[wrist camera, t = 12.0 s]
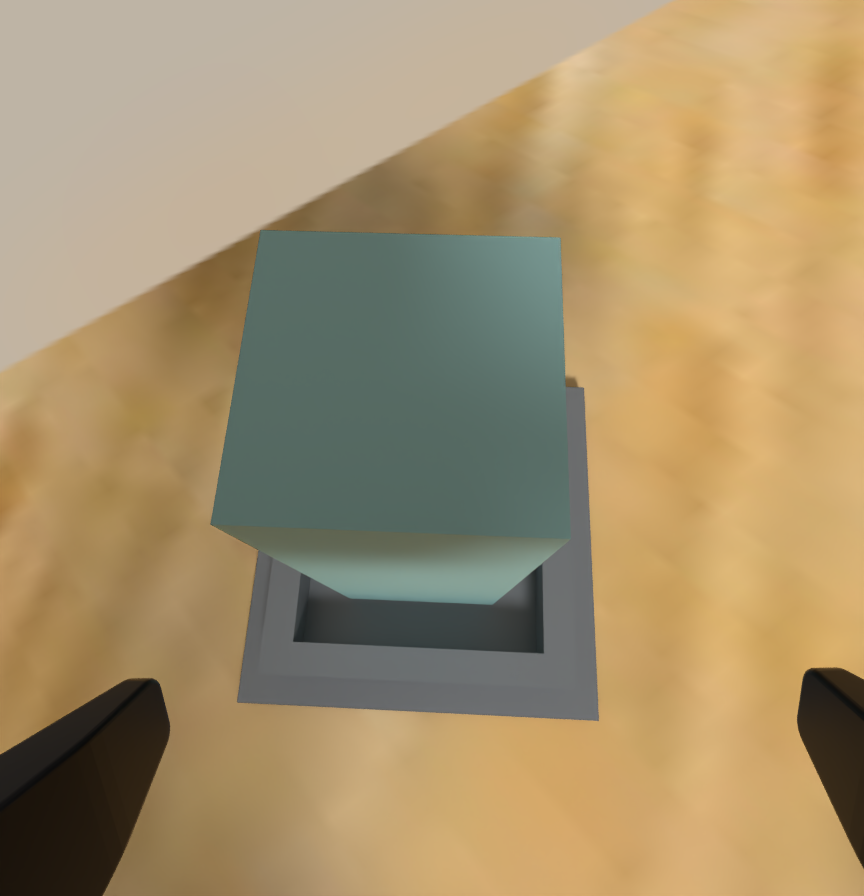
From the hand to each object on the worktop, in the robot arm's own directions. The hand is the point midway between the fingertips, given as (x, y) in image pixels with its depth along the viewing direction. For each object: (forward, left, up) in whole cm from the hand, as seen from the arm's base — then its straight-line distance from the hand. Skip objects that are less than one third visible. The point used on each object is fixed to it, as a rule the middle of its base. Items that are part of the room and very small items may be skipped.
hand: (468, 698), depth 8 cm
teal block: (+1, +5, -12) cm, 13 cm away
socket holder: (+1, +5, -13) cm, 14 cm away
